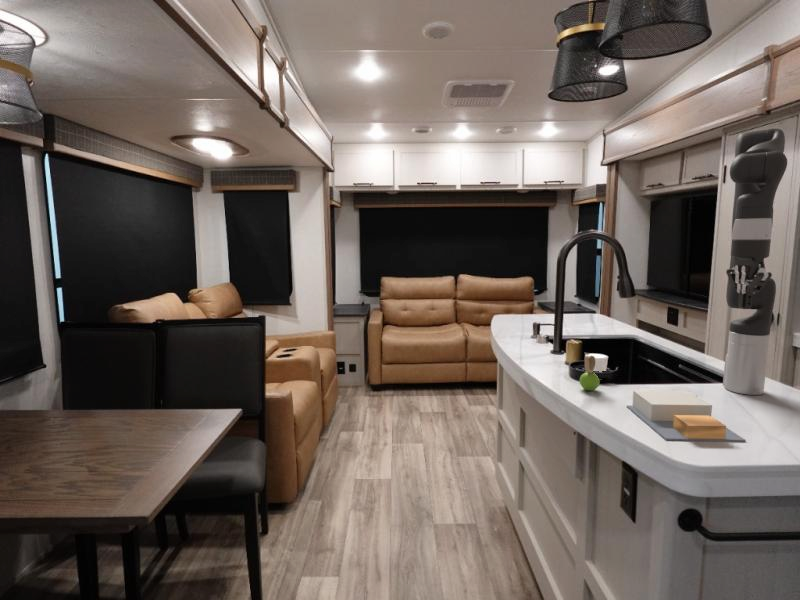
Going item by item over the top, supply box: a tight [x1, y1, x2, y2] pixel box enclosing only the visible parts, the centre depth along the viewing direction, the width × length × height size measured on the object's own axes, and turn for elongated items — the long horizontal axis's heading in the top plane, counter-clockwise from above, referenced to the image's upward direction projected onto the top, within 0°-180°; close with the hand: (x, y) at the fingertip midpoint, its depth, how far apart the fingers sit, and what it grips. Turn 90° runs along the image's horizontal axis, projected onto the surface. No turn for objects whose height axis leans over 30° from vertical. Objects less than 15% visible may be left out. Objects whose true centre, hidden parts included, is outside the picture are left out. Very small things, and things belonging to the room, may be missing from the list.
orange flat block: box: [673, 415, 727, 439], centre depth 102 cm, size 6×8×3 cm
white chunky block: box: [584, 352, 609, 372], centre depth 146 cm, size 7×7×7 cm
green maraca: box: [579, 352, 601, 392], centre depth 132 cm, size 5×6×12 cm
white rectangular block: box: [632, 390, 713, 421], centre depth 114 cm, size 10×14×4 cm
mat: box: [626, 405, 747, 443], centre depth 109 cm, size 20×17×1 cm
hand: (744, 308), depth 112 cm, fingers closed
